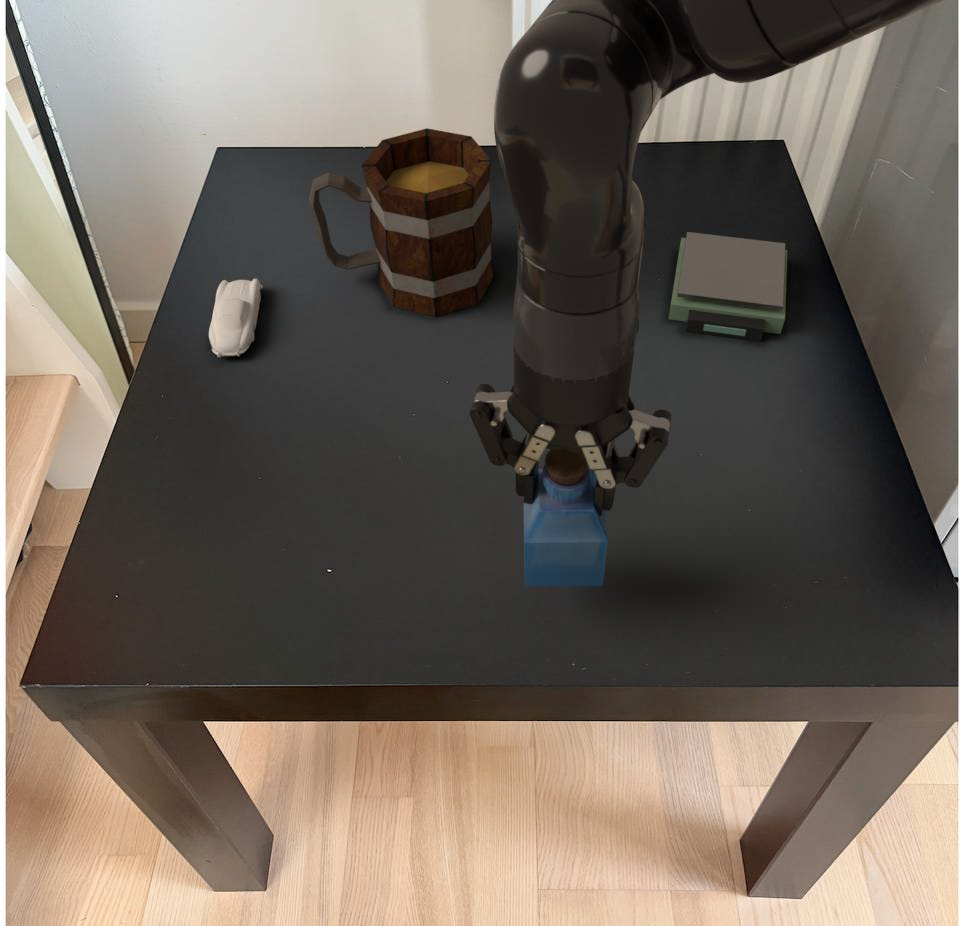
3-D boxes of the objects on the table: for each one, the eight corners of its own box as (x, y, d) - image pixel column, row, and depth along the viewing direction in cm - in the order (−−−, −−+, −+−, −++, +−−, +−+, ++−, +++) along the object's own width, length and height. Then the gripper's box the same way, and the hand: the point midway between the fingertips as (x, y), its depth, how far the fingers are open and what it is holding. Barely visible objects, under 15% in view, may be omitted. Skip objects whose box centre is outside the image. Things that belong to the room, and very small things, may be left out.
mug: (491, 240, 110) (489, 125, 98) (496, 314, 101) (494, 198, 90) (329, 246, 110) (308, 133, 98) (320, 321, 101) (295, 206, 90)
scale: (783, 265, 105) (787, 249, 103) (780, 345, 97) (784, 330, 95) (678, 252, 107) (681, 237, 105) (666, 330, 99) (669, 314, 97)
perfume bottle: (602, 586, 72) (613, 494, 63) (524, 586, 73) (524, 495, 63) (597, 523, 76) (606, 428, 67) (523, 523, 77) (523, 429, 67)
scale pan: (783, 251, 103) (785, 243, 102) (780, 314, 96) (783, 306, 96) (685, 240, 105) (687, 231, 104) (676, 301, 98) (677, 292, 97)
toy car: (264, 288, 105) (258, 264, 102) (253, 361, 97) (246, 337, 95) (223, 291, 105) (215, 267, 102) (208, 363, 97) (199, 339, 95)
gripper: (446, 359, 55) (462, 524, 68) (686, 393, 52) (654, 557, 65) (475, 281, 59) (484, 449, 72) (697, 308, 57) (665, 477, 70)
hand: (565, 500), depth 69 cm, fingers closed on perfume bottle, 4 cm apart
